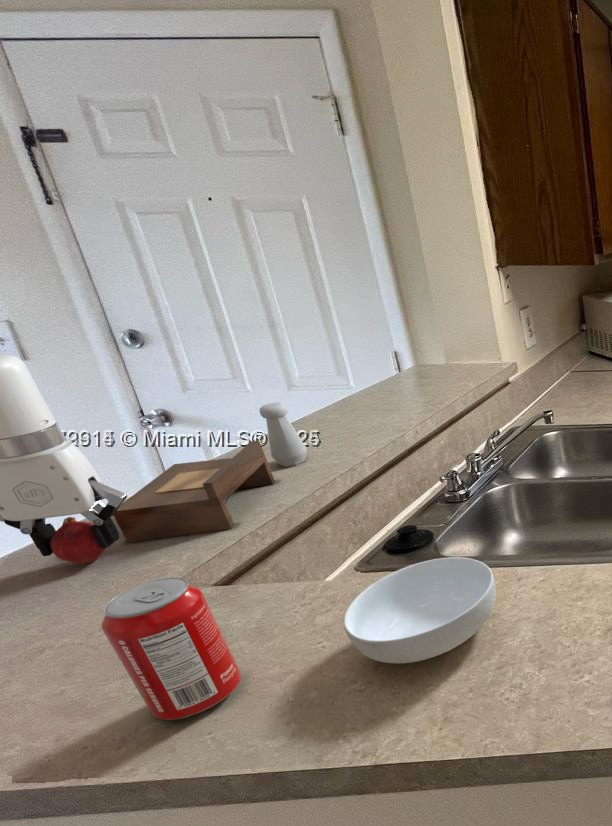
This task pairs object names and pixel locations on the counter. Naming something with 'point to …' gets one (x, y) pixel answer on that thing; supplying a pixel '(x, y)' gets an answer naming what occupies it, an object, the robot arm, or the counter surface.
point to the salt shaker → (283, 436)
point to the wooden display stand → (192, 496)
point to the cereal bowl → (421, 610)
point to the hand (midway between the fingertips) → (82, 546)
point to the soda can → (171, 647)
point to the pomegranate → (75, 542)
